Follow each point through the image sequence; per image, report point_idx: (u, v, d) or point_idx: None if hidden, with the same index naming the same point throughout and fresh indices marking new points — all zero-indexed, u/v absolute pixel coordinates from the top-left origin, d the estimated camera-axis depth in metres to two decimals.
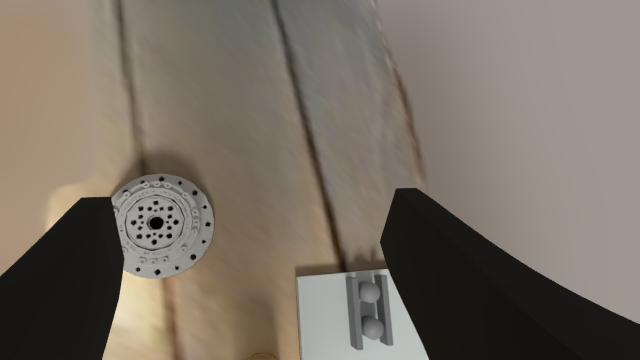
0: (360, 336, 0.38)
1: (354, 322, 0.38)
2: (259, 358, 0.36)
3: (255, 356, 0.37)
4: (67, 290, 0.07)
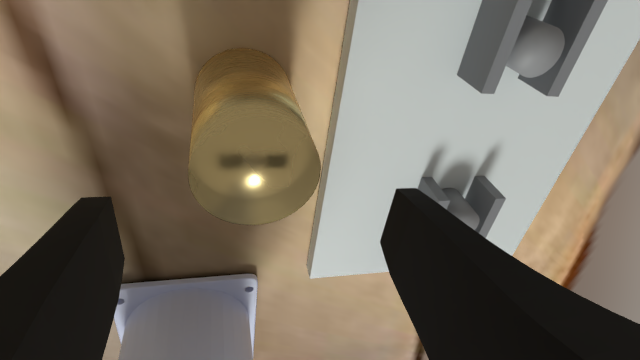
0: (502, 63, 0.15)
1: (502, 25, 0.14)
2: (242, 64, 0.14)
3: (233, 55, 0.15)
4: (67, 290, 0.07)
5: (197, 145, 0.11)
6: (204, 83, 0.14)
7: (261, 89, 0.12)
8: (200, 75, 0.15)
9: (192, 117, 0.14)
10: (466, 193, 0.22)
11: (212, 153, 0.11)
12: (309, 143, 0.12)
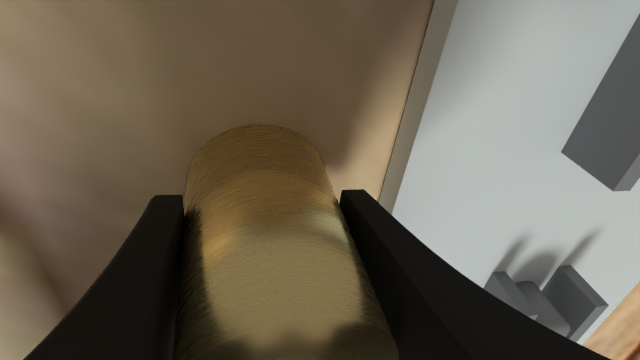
0: None
1: None
2: (260, 163, 0.09)
3: (245, 140, 0.10)
4: (164, 281, 0.07)
5: None
6: (200, 193, 0.09)
7: (296, 227, 0.07)
8: (195, 168, 0.10)
9: None
10: (544, 285, 0.17)
11: None
12: (385, 339, 0.07)
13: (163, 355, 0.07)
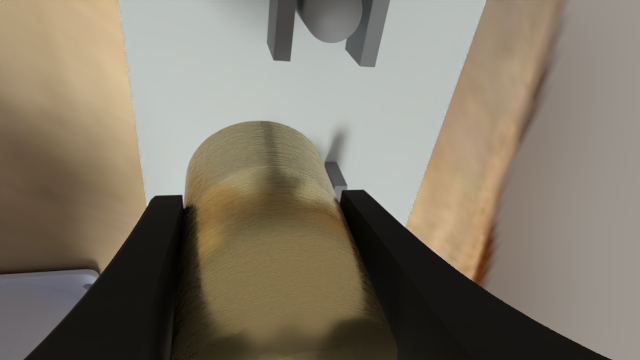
0: (288, 24, 0.13)
1: None
2: (258, 158, 0.09)
3: (243, 136, 0.10)
4: (164, 281, 0.07)
5: None
6: (198, 188, 0.09)
7: (294, 221, 0.07)
8: (193, 164, 0.10)
9: None
10: None
11: None
12: (384, 333, 0.07)
13: (163, 355, 0.07)
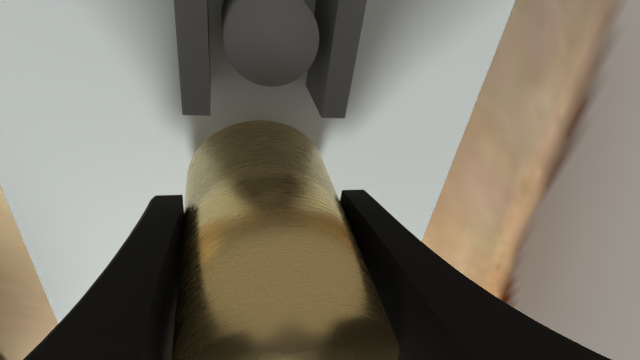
0: (199, 61, 0.08)
1: None
2: (259, 158, 0.09)
3: (244, 135, 0.10)
4: (164, 281, 0.07)
5: (184, 359, 0.06)
6: (200, 188, 0.09)
7: (296, 221, 0.07)
8: (194, 164, 0.10)
9: (181, 244, 0.09)
10: None
11: None
12: (385, 333, 0.07)
13: (163, 355, 0.07)
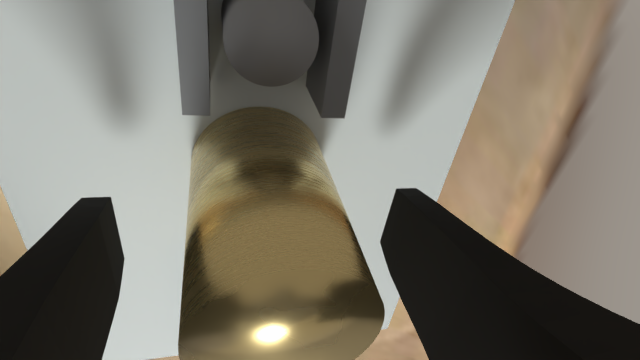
0: (198, 61, 0.08)
1: None
2: (258, 140, 0.10)
3: (244, 120, 0.10)
4: (67, 290, 0.07)
5: (192, 313, 0.07)
6: (203, 168, 0.10)
7: (291, 194, 0.08)
8: (198, 147, 0.11)
9: None
10: None
11: (217, 321, 0.07)
12: (371, 292, 0.07)
13: None
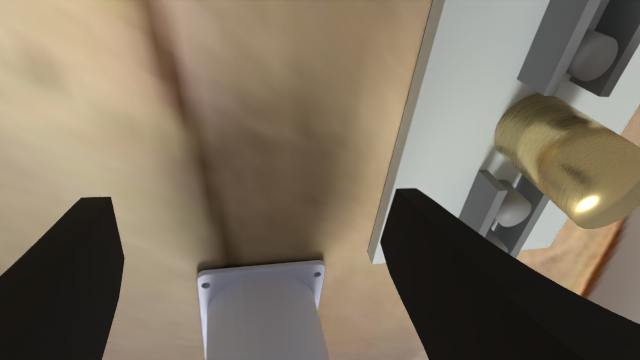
0: (563, 69, 0.17)
1: (565, 37, 0.17)
2: (565, 109, 0.19)
3: (544, 100, 0.20)
4: (67, 290, 0.07)
5: (597, 176, 0.16)
6: (537, 124, 0.19)
7: (609, 131, 0.17)
8: (515, 116, 0.20)
9: (532, 150, 0.19)
10: (516, 184, 0.24)
11: (603, 181, 0.16)
12: None
13: None
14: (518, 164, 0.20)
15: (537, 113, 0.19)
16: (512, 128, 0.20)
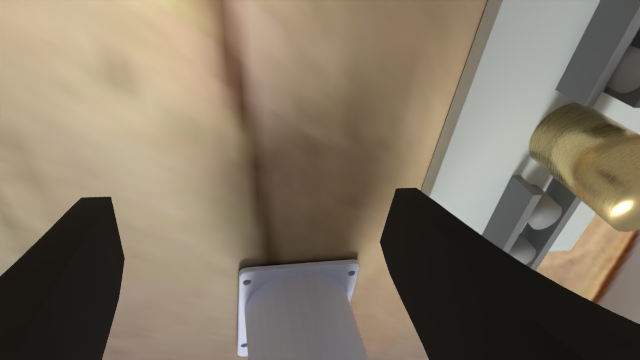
0: (604, 82, 0.18)
1: (608, 51, 0.18)
2: (599, 118, 0.20)
3: (578, 109, 0.21)
4: (67, 290, 0.07)
5: (633, 181, 0.17)
6: (572, 132, 0.20)
7: None
8: (550, 124, 0.21)
9: (567, 157, 0.20)
10: (545, 189, 0.25)
11: (638, 186, 0.17)
12: None
13: None
14: (553, 170, 0.21)
15: (572, 122, 0.20)
16: (547, 136, 0.21)
